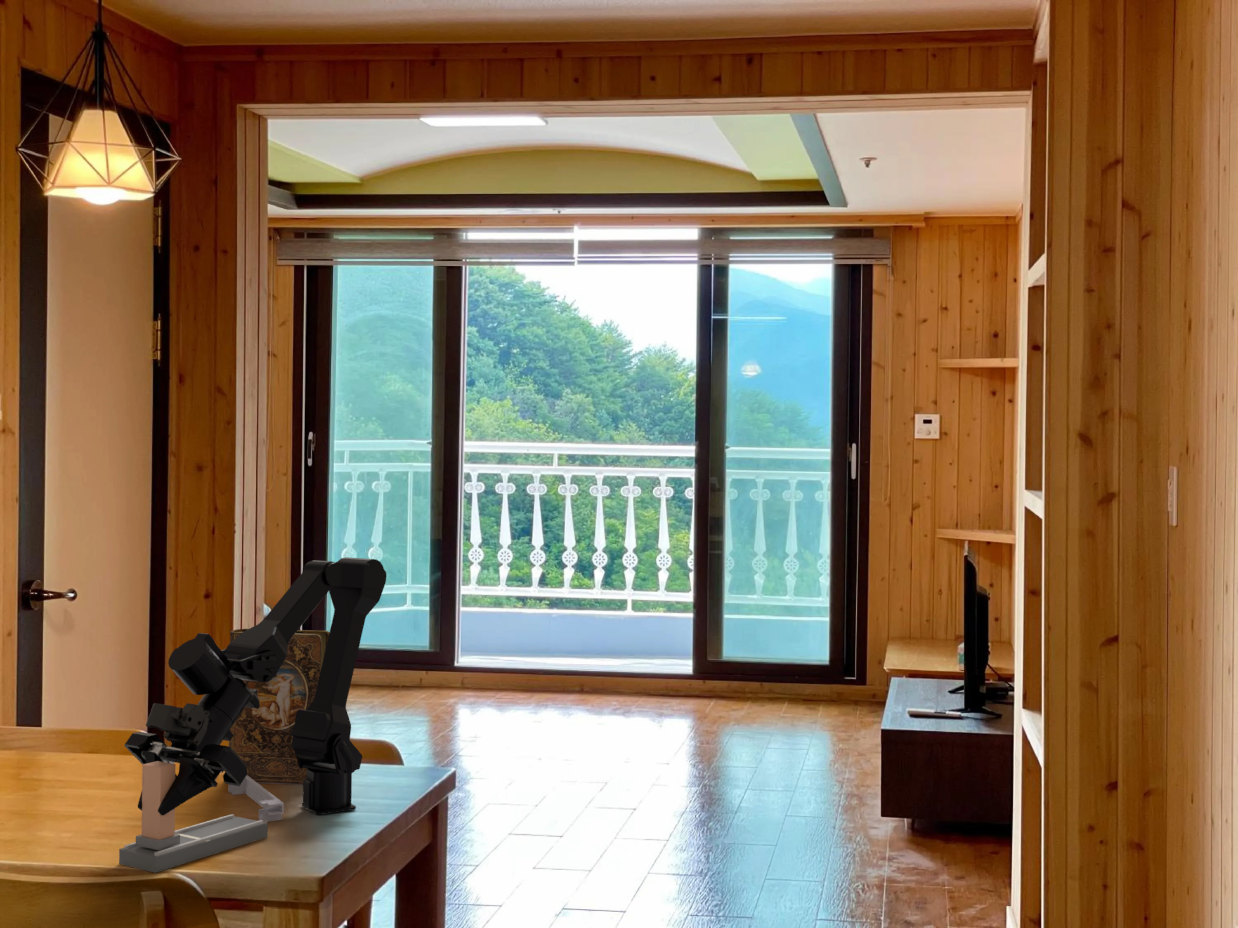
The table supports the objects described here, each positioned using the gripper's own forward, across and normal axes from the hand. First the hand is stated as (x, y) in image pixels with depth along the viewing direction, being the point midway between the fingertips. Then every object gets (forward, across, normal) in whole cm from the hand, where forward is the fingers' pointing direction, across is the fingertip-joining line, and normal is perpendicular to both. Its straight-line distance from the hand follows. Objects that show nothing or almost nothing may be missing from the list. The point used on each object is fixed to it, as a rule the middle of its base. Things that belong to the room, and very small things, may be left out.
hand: (150, 811), depth 179 cm
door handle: (-15, -10, +26) cm, 32 cm away
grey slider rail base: (-1, 0, +11) cm, 11 cm away
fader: (+2, 0, +4) cm, 5 cm away
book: (-26, -20, +36) cm, 49 cm away
